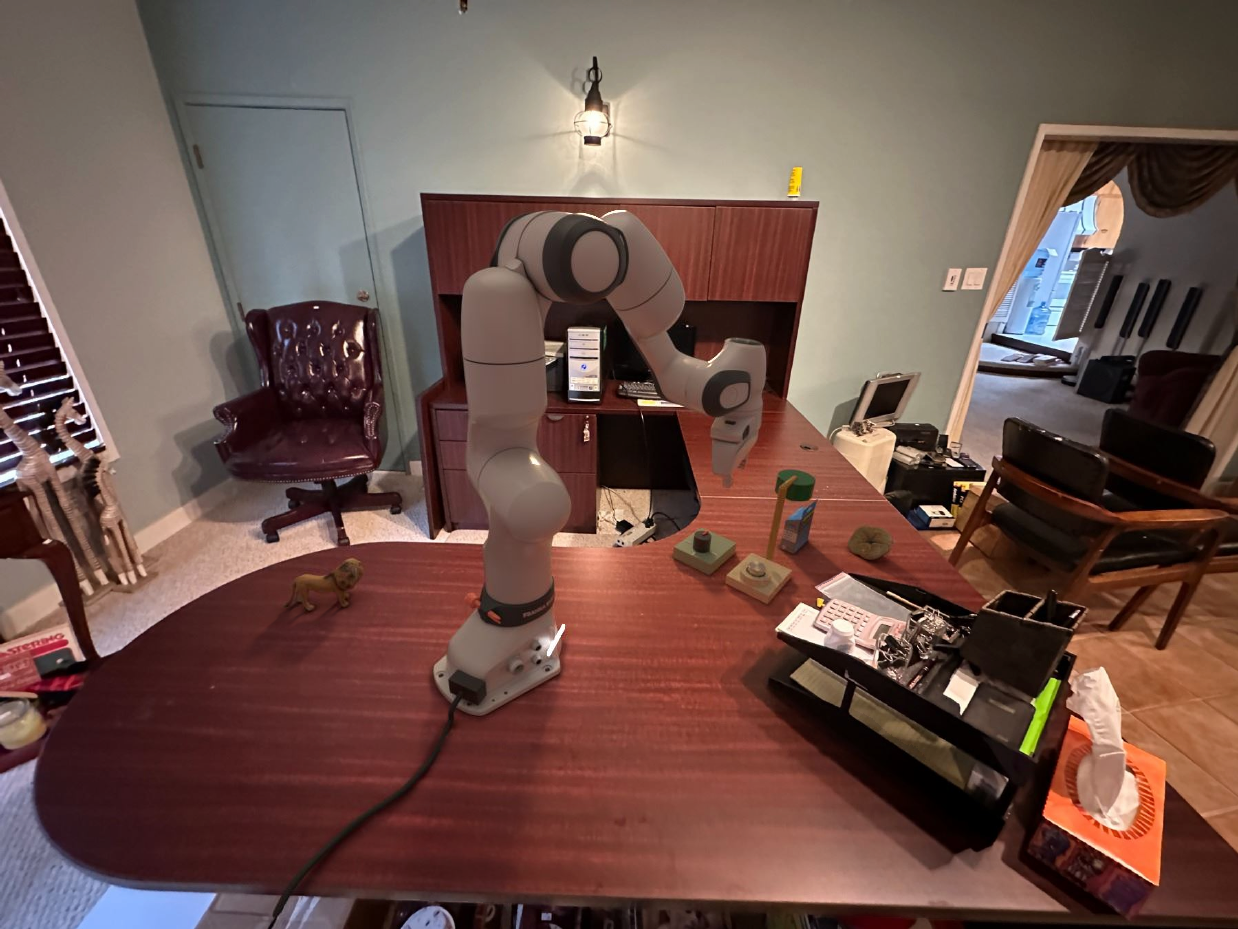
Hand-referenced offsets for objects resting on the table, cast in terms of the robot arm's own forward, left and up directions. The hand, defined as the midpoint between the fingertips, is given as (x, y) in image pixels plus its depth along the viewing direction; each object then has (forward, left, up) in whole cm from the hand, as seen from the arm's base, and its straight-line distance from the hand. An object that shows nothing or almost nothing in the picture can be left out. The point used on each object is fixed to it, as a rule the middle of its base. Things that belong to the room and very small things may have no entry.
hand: (734, 476), depth 107 cm
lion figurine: (-67, +50, -22) cm, 87 cm away
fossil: (+28, -25, -22) cm, 43 cm away
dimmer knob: (-3, +4, -19) cm, 20 cm away
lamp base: (-1, -10, -22) cm, 24 cm away
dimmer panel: (-1, +4, -22) cm, 22 cm away
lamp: (+8, -10, -18) cm, 22 cm away
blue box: (+19, -10, -22) cm, 31 cm away
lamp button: (-4, -10, -18) cm, 21 cm away
